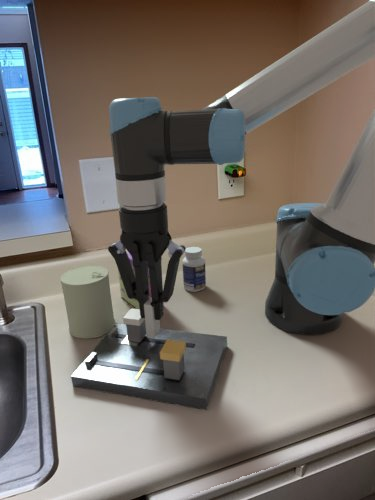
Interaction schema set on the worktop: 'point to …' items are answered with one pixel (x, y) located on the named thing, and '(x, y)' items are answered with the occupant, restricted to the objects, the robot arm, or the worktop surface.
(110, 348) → the console
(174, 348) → the fader
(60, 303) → the worktop surface
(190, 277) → the pill bottle
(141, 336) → the fader
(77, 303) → the can
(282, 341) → the worktop surface
